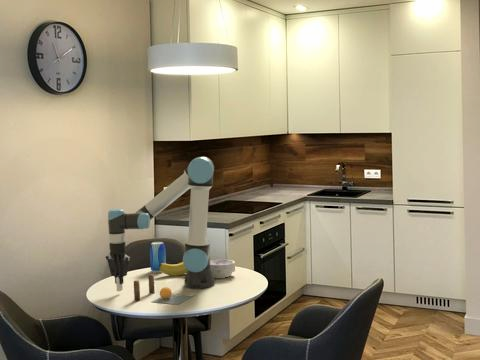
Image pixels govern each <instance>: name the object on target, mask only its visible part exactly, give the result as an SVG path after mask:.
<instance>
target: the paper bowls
mask: <svg viewBox="0 0 480 360" xmlns="http://www.w3.org/2000/svg"><path fill="white" fill-rule="evenodd" d="M210 269H211V272H212V275H213V277H214V279H226V278H225V277H228V278H230V277H231V276H232V275H233V273H235V272H236V262H235V260H232V259H214V260H210ZM229 276H230V277H229Z"/></svg>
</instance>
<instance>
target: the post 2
mask: <svg viewBox="0 0 480 360" xmlns="http://www.w3.org/2000/svg"><path fill="white" fill-rule="evenodd" d="M147 278H148V294H149V295H154V294H155V291H156V290H155V275H154V274H153V273H151V274H150V273H149V274H148V277H147Z"/></svg>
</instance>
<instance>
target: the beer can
mask: <svg viewBox="0 0 480 360" xmlns="http://www.w3.org/2000/svg"><path fill="white" fill-rule="evenodd" d="M149 258H150V260H149V261H150V270H151V272H152V273H155V274H158V273H160V274H161V273H163V272H162V271H161V270H160V268H159V264H160V263H164V264H167V261H166V259H167V258H166V246H165V244H164V242H163V241H153V242H152V243H150V247H149Z"/></svg>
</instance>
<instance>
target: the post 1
mask: <svg viewBox="0 0 480 360" xmlns="http://www.w3.org/2000/svg"><path fill="white" fill-rule="evenodd" d="M140 292H141V287H140V280H137V279H136V280H134V281H133V294H134V296H133V299H134V301H135V302H139V301H141V293H140Z"/></svg>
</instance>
